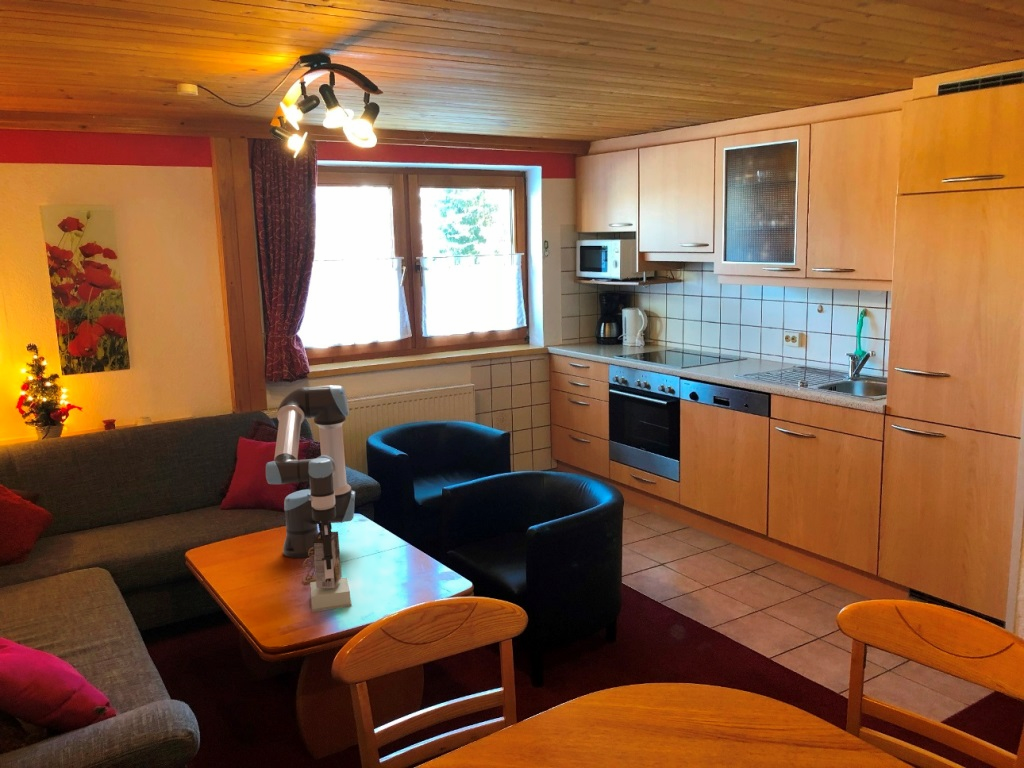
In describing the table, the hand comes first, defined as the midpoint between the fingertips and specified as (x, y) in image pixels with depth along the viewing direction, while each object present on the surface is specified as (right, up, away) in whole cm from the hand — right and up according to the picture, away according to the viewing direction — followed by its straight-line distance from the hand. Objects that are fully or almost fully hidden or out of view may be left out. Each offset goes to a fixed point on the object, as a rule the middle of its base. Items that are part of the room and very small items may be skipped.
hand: (328, 571), depth 267 cm
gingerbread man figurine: (-9, -8, +20) cm, 23 cm away
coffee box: (0, -4, +1) cm, 4 cm away
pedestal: (0, -10, +2) cm, 10 cm away
